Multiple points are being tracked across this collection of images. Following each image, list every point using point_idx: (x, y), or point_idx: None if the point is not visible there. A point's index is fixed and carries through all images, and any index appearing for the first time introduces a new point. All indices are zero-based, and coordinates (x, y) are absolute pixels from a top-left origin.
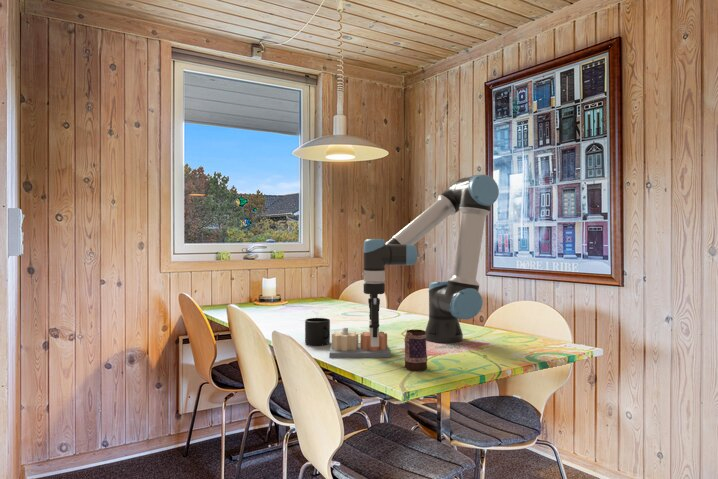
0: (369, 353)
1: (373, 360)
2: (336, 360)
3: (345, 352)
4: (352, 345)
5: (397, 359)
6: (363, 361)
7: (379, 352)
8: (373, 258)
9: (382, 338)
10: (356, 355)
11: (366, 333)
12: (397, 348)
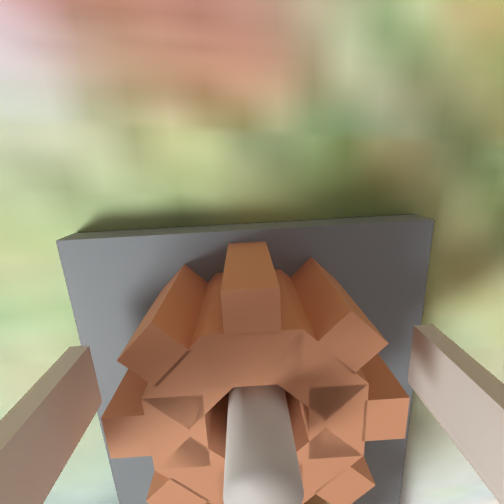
0: None
1: (475, 318)
2: (445, 487)
3: (387, 483)
4: None
5: (475, 162)
6: (489, 370)
7: (406, 297)
8: None
9: (371, 324)
10: None
11: None
12: (106, 145)
